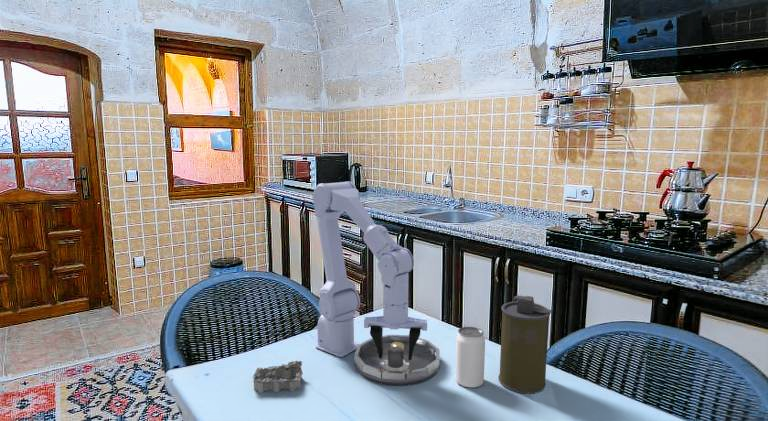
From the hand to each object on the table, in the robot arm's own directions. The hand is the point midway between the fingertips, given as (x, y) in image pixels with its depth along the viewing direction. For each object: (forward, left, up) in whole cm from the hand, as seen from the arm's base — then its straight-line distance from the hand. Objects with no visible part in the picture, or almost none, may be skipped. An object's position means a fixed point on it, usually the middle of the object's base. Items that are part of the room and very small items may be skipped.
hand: (395, 357), depth 108 cm
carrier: (-3, +5, -4) cm, 7 cm away
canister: (+25, +15, -5) cm, 30 cm away
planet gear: (0, 0, -3) cm, 3 cm away
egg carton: (-19, -19, -5) cm, 27 cm away
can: (+15, +8, -5) cm, 18 cm away
